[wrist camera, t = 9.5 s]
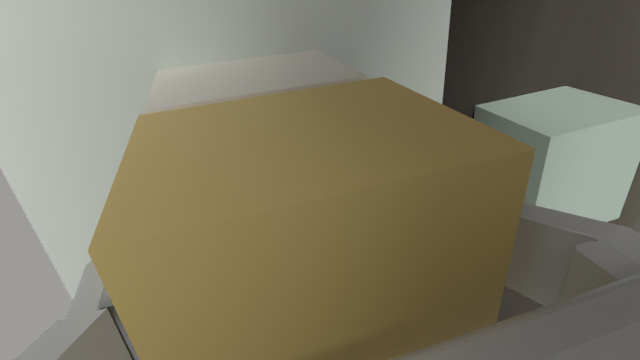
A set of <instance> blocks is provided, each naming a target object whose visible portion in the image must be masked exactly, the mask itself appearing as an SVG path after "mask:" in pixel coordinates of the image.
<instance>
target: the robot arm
mask: <svg viewBox="0 0 640 360" xmlns="http://www.w3.org/2000/svg"><path fill="white" fill-rule="evenodd" d="M505 286H506V287H508V288H510V289H512V290H514V291H516V292H518V293H520V294H522V295H524V296H526V297H528V298H530V299H532V300H534V301H536V302H538V303H540V304H542V305H544V306H543V307H540V308H537V309H534V310H531V311H528V312H525V313H522V314H519V315H517V316H514V317H511V318H508V319H505V320H502V321H499V322H496V323H494V324H491V325H488V326H485V327H482V328H479V329H476V330H473V331H470V332H468V333H465V334H462V335H459V336H456V337H453V338H450V339H447V340H445V341H442V342H439V343H436V344H433V345H430V346H427V347H424V348H421V349H419V350H416V351H413V352H410V353H407V354H404V355H401V356H398V357H396V358H393V359H390V360H640V234H639V233H637V232H636V231H634V230H632V229H630V228H628V227H624V226H620V225H616V224H612V223H607V222H603V221H599V220H595V219H591V218H586V217H582V216H578V215H574V214H570V213H565V212H561V211H557V210H553V209H548V208H544V207H540V206H536V205H532V204H527V203H523V208H522V212H521V216H520V221H519V225H518V229H517V234H516V238H515V242H514V247H513V251H512V256H511V260H510V264H509V269H508V273H507V277H506V282H505ZM14 360H140V359H139V357H138V355H137V353H136V351H135V349H134V347H133V345H132V343H131V341H130V339H129V337H128V334H127V332H126V330H125V328H124V326H123V324H122V322H121V320H120V318H119V316H118V314H117V312H116V309H115V307H114V305H113V303H112V301H111V299H110V297H109V295H108V293H107V291H106V289H105V287H104V285H103V282H102V280H101V278H100V276H99V274H98V272H97V270H96V268H95V266H94V264H93V262H92V261H90V262H89V263H87V265H86V266H85V269H84V272H83V274H82V277H81V280H80V283H79V285H78V288H77V291H76V293H75V296H74V299H73V302H72V304H71V307H70V310H69V312H68V315H67V318H66V319H63V320H59V321H57V322H56V323H55V324H54V325H52V327H50V328H49V329H48V330H47V331H46V332H45V333H44V334H42V335H41V336H40V337H39V338H38V339H37V340H36V341H35V342H33V343H32V344H31V345H30V346H29V347H28V348H27V349H26V350H24V352H22V353H21V354H20V355H19V356H18V357H17V358H16V359H14Z"/></svg>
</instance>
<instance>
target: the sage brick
mask: <svg viewBox="0 0 640 360" xmlns="http://www.w3.org/2000/svg"><path fill="white" fill-rule="evenodd" d="M474 120H476V121H478V122H481V123H483V124H485V125H487V126H489V127H491V128H493V129H495V130H497V131H500V132H502V133H504V134H506V135H508V136H510V137H512V138H514V139H517V140H519V141H521V142H523V143H525V144H527V145H529V146H531V147H533V148H536V151H535V155H534V159H533V164H532V168H531V173H530V177H529V181H528V186H527V190H526V194H525V199H524V203H527V204H532V205H536V206H540V207H544V208H548V209H553V210H557V211H561V212H565V213H570V214H574V215H578V216H582V217H586V218H591V219H595V220H599V221H603V222H608V221H611V220H614V219H617V218H619V216H620V213H621V211H622V208H623V205H624V202H625V200H626V197H627V194H628V191H629V189H630V186H631V183H632V180H633V177H634V175H635V172H636V169H637V166H638V164H639V161H640V106H639V105H635V104H631V103H628V102H624V101H620V100H617V99H613V98H609V97H605V96H602V95H598V94H594V93H590V92H587V91H583V90H579V89H575V88H572V87H568V86H564V87H559V88H554V89H550V90H545V91H540V92H536V93H531V94H526V95H522V96H517V97H513V98H508V99H503V100H499V101H494V102H489V103H485V104H480V105H475V112H474Z"/></svg>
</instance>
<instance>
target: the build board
mask: <svg viewBox="0 0 640 360" xmlns="http://www.w3.org/2000/svg"><path fill="white" fill-rule="evenodd" d="M450 11H451V0H0V168H1V170H2V172H3V174H4V176H5V177H6V179H7V181H8V183H9V185H10V186H11V188H12V190H13V192H14V194H15V196H16V197H17V199H18V201H19V203H20V205H21V207H22V208H23V210H24V212H25V214H26V216H27V218H28V220H29V221H30V223H31V225H32V227H33V229H34V231H35V232H36V234H37V236H38V238H39V240H40V242H41V243H42V245H43V247H44V249H45V251H46V252H47V254H48V256H49V258H50V260H51V262H52V264H53V265H54V267H55V269H56V271H57V273H58V274H59V276H60V278H61V280H62V282H63V284H64V286H65V287H66V289H67V291H68V293H69V295H70V297H71V298H72V300H73V299H74V296H75V293H76V291H77V288H78V285H79V283H80V280H81V277H82V274H83V272H84V269H85V266H86V265H87V263H89V262H90V261H92V260H91V257H90V255H89V253H88V248H89V246H90V243H91V240H92V238H93V235H94V232H95V230H96V227H97V224H98V222H99V219H100V216H101V214H102V211H103V208H104V206H105V203H106V200H107V198H108V195H109V192H110V190H111V187H112V184H113V182H114V179H115V176H116V174H117V171H118V168H119V166H120V163H121V160H122V158H123V155H124V152H125V150H126V147H127V144H128V142H129V139H130V136H131V134H132V131H133V128H134V126H135V123H136V121H137V118H138V115H143V114H149V113H156V112H162V111H169V110H175V109H181V108H188V107H194V106H201V105H207V104H213V103H220V102H226V101H233V100H239V99H245V98H252V97H258V96H265V95H271V94H277V93H284V92H290V91H297V90H303V89H309V88H316V87H322V86H329V85H335V84H341V83H348V82H354V81H360V80H367V79H373V78H380V77H386V78H388V79H390V80H392V81H394V82H396V83H398V84H400V85H402V86H405V87H407V88H409V89H411V90H413V91H415V92H417V93H419V94H421V95H424V96H426V97H428V98H430V99H432V100H434V101H436V102H438V103H440V104H442V101H443V90H444V78H445V67H446V56H447V45H448V34H449V23H450Z"/></svg>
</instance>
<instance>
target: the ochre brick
mask: <svg viewBox="0 0 640 360" xmlns="http://www.w3.org/2000/svg"><path fill="white" fill-rule="evenodd" d="M535 151H536V148H533V147H531V146H529V145H527V144H525V143H523V142H521V141H519V140H517V139H514V138H512V137H510V136H508V135H506V134H504V133H502V132H500V131H497V130H495V129H493V128H491V127H489V126H487V125H485V124H483V123H481V122H478V121H476V120H474V119H472V118H470V117H468V116H466V115H464V114H462V113H459V112H457V111H455V110H453V109H451V108H449V107H447V106H445V105H443V104H440V103H438V102H436V101H434V100H432V99H430V98H428V97H426V96H424V95H421V94H419V93H417V92H415V91H413V90H411V89H409V88H407V87H405V86H402V85H400V84H398V83H396V82H394V81H392V80H390V79H388V78H386V77H380V78H373V79H367V80H360V81H354V82H348V83H341V84H335V85H329V86H322V87H316V88H309V89H303V90H297V91H290V92H284V93H277V94H271V95H265V96H258V97H252V98H245V99H239V100H233V101H226V102H220V103H213V104H207V105H201V106H194V107H188V108H181V109H175V110H169V111H162V112H156V113H149V114H143V115H138V118H137V121H136V123H135V126H134V128H133V131H132V134H131V136H130V139H129V142H128V144H127V147H126V150H125V152H124V155H123V158H122V160H121V163H120V166H119V168H118V171H117V174H116V176H115V179H114V182H113V184H112V187H111V190H110V192H109V195H108V198H107V200H106V203H105V206H104V208H103V211H102V214H101V216H100V219H99V222H98V224H97V227H96V230H95V232H94V235H93V238H92V240H91V243H90V246H89V248H88V253H89V255H90V257H91V260H92V262H93V264H94V266H95V268H96V270H97V272H98V274H99V276H100V278H101V280H102V282H103V285H104V287H105V289H106V291H107V293H108V295H109V297H110V299H111V301H112V303H113V305H114V307H115V309H116V312H117V314H118V316H119V318H120V320H121V322H122V324H123V326H124V328H125V330H126V332H127V334H128V337H129V339H130V341H131V343H132V345H133V347H134V349H135V351H136V353H137V355H138V357H139V359H140V360H390V359H393V358H396V357H398V356H401V355H404V354H407V353H410V352H413V351H416V350H419V349H421V348H424V347H427V346H430V345H433V344H436V343H439V342H442V341H445V340H447V339H450V338H453V337H456V336H459V335H462V334H465V333H468V332H470V331H473V330H476V329H479V328H482V327H485V326H488V325H491V324H494V323H496V321H497V317H498V312H499V308H500V304H501V299H502V295H503V291H504V286H505V282H506V277H507V273H508V269H509V264H510V260H511V256H512V251H513V247H514V242H515V238H516V234H517V229H518V225H519V221H520V216H521V212H522V208H523V203H524V199H525V194H526V190H527V186H528V181H529V177H530V173H531V168H532V164H533V159H534V155H535Z"/></svg>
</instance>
